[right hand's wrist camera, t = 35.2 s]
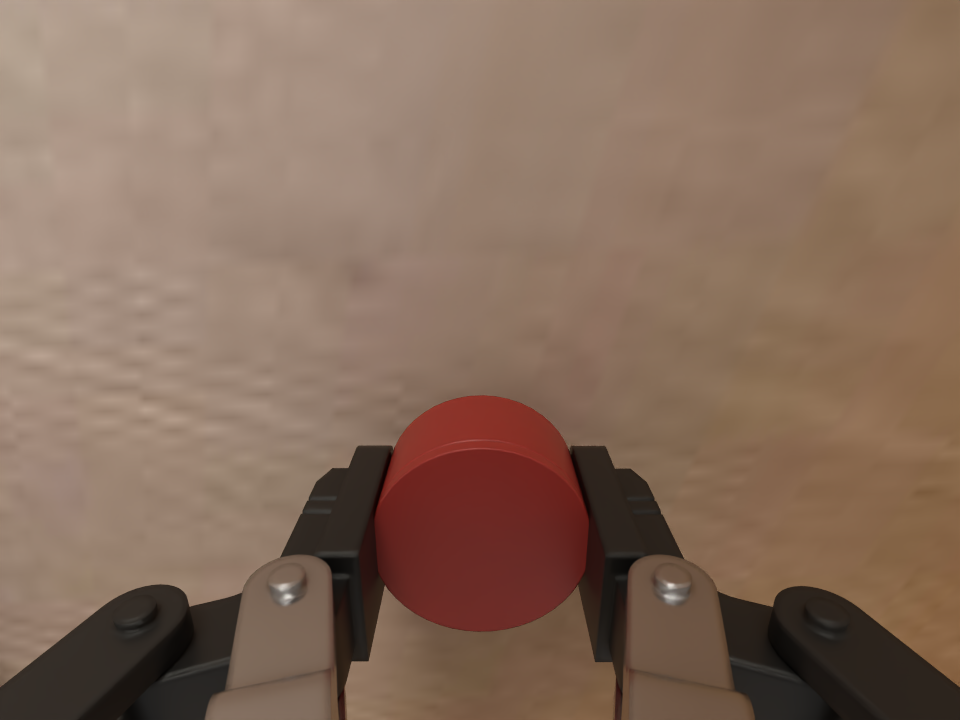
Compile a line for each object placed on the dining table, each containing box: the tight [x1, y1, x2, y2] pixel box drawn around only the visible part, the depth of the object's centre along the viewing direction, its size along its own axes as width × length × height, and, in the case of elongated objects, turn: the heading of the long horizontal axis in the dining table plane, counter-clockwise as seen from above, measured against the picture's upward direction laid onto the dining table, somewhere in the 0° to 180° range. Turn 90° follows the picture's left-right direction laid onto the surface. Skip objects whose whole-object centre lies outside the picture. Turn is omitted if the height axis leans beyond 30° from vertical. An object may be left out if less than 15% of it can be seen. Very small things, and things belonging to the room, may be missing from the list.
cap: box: [374, 395, 589, 632], centre depth 11 cm, size 4×4×2 cm
